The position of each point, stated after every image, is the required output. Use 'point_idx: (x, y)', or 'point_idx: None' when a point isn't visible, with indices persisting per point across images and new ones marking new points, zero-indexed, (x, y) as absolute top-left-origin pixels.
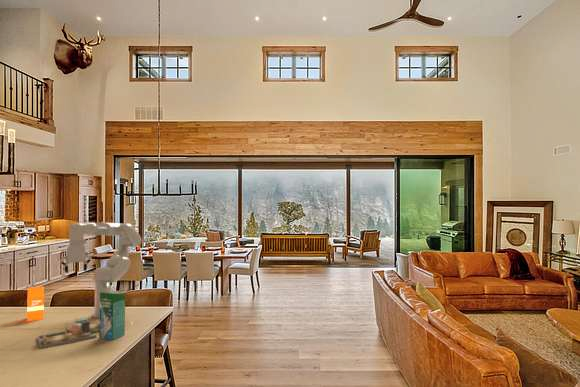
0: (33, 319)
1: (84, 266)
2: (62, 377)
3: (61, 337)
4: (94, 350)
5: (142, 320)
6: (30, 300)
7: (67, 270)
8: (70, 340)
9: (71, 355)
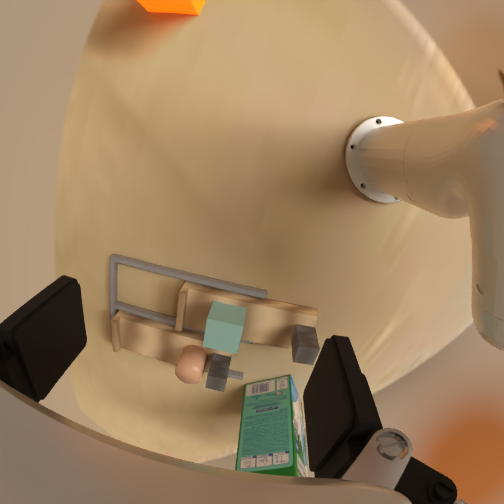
0: (166, 11)
1: (314, 438)
2: None
3: (155, 349)
4: (205, 425)
5: (413, 335)
6: None
7: (66, 362)
8: None
9: (163, 414)
